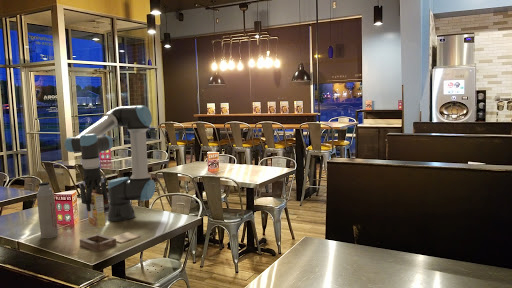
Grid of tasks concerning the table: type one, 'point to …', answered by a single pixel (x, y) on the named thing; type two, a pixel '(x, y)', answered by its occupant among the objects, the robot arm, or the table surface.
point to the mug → (106, 202)
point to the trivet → (125, 237)
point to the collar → (104, 241)
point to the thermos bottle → (47, 211)
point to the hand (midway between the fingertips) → (96, 216)
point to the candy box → (97, 211)
